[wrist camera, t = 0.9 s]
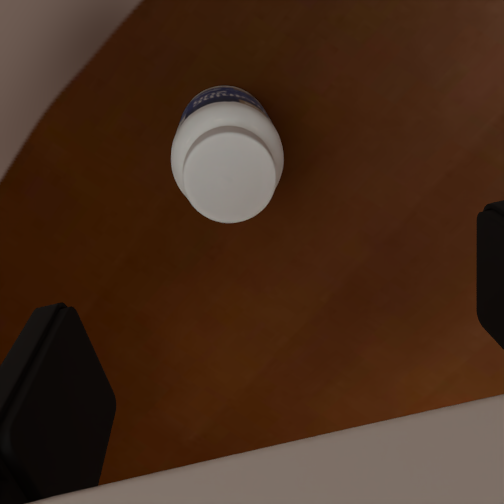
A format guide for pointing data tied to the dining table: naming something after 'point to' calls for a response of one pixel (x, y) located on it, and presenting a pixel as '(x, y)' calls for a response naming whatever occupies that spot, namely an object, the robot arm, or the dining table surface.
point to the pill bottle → (227, 155)
